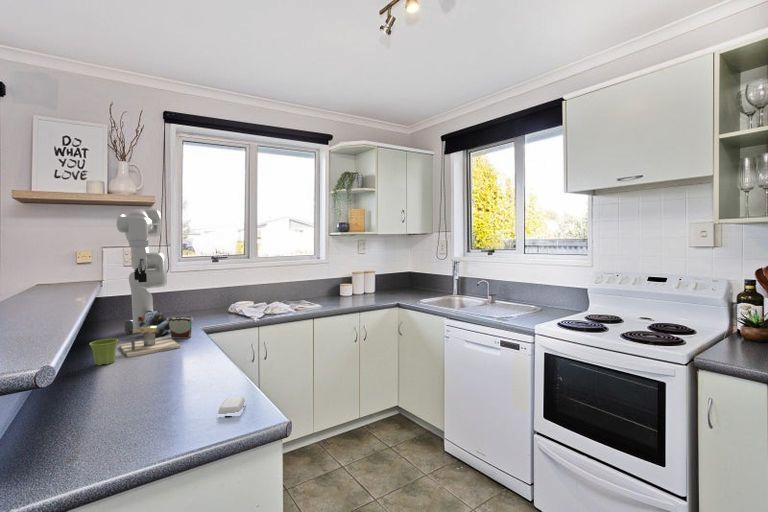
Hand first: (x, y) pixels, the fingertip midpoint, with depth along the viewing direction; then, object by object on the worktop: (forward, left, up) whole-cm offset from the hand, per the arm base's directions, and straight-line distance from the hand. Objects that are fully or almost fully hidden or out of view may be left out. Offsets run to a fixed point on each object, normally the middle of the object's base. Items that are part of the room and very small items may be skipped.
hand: (140, 280), depth 187 cm
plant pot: (+24, -17, -29) cm, 42 cm away
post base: (+11, +1, -29) cm, 31 cm away
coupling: (+10, -2, -22) cm, 24 cm away
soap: (+101, +4, -30) cm, 105 cm away
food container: (0, +18, -29) cm, 34 cm away
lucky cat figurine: (-15, +9, -30) cm, 34 cm away
